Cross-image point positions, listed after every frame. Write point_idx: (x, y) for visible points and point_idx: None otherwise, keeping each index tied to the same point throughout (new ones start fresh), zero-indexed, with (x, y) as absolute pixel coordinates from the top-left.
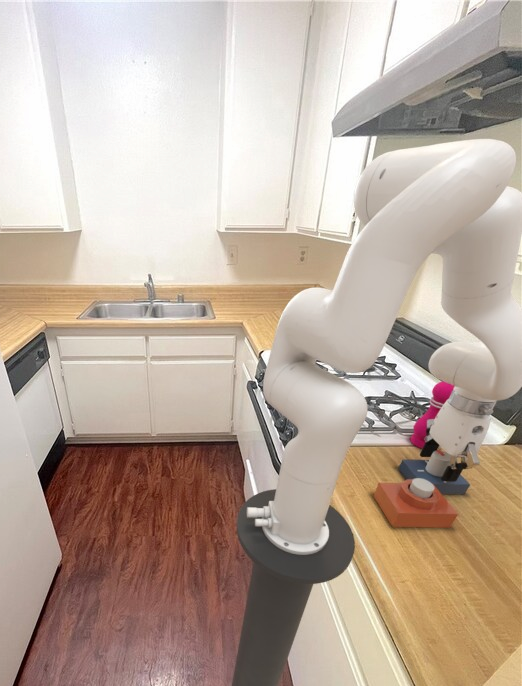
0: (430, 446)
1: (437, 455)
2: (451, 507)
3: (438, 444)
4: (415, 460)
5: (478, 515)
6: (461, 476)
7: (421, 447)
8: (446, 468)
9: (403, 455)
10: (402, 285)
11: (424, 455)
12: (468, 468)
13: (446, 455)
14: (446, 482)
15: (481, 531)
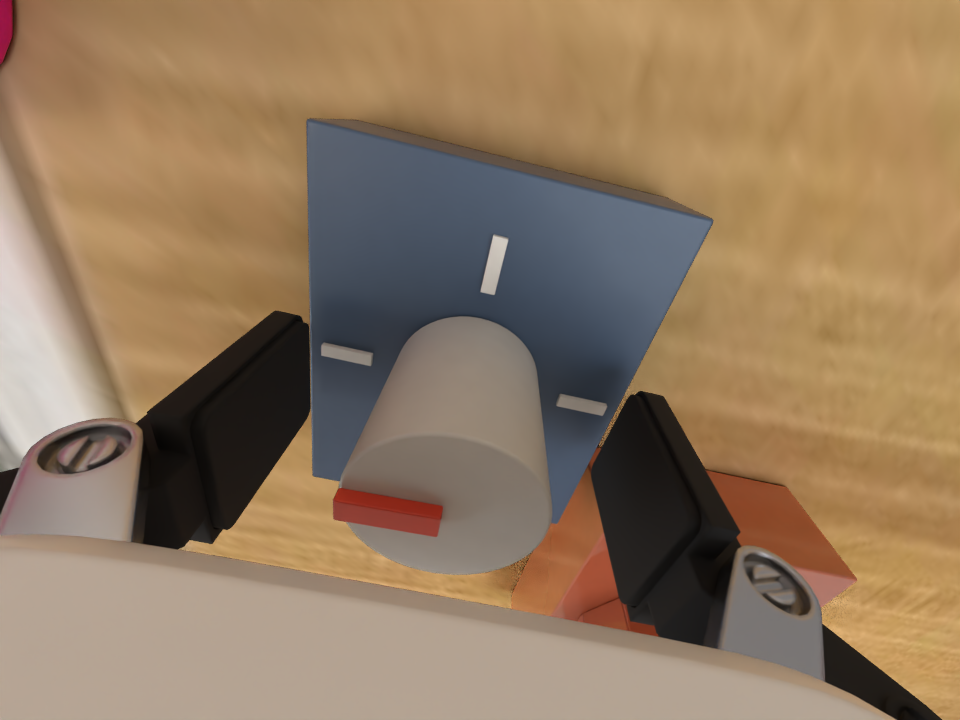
0: (238, 481)
1: (430, 552)
2: (804, 578)
3: (195, 426)
4: (325, 415)
5: (845, 286)
6: (589, 203)
7: (2, 47)
8: (621, 585)
9: (188, 298)
10: None
11: (302, 408)
12: (881, 686)
13: (443, 481)
14: (602, 397)
15: (913, 378)
